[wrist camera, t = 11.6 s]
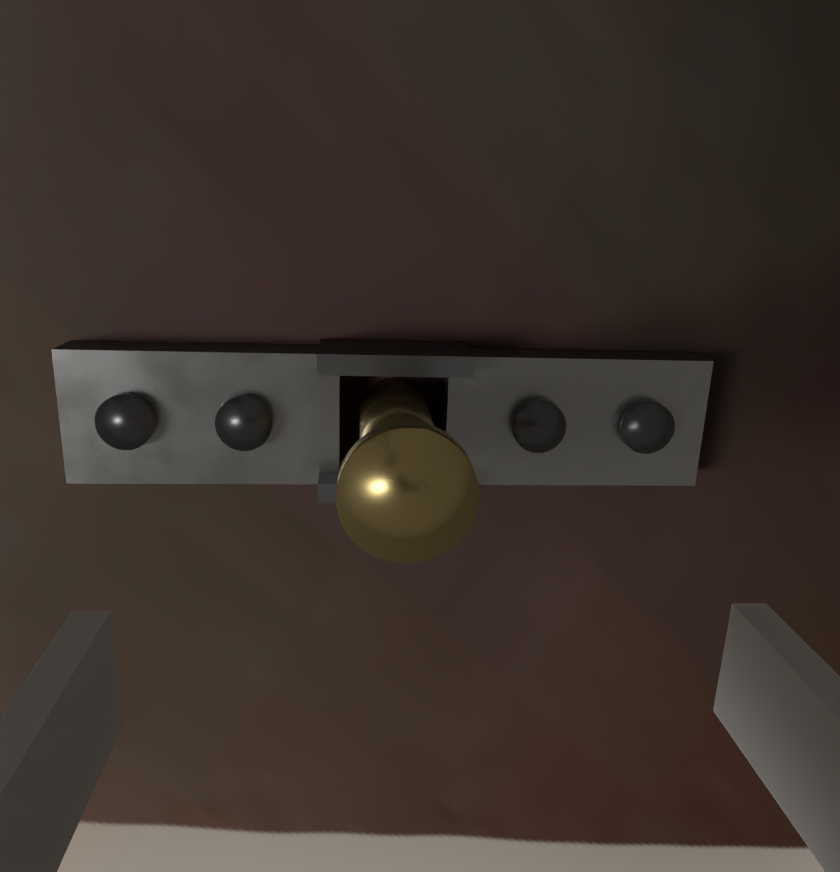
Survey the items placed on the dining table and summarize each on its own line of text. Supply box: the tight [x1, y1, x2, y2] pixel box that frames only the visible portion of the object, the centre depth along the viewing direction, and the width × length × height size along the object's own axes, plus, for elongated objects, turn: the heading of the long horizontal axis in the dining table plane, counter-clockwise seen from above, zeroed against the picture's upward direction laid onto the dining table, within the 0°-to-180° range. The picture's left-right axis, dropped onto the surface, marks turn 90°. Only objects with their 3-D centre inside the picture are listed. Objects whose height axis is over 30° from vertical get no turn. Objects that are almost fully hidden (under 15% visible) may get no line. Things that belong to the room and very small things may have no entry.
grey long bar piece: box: [52, 339, 714, 503], centre depth 34 cm, size 29×7×4 cm, turn 88°
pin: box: [336, 378, 479, 563], centre depth 30 cm, size 5×5×11 cm
